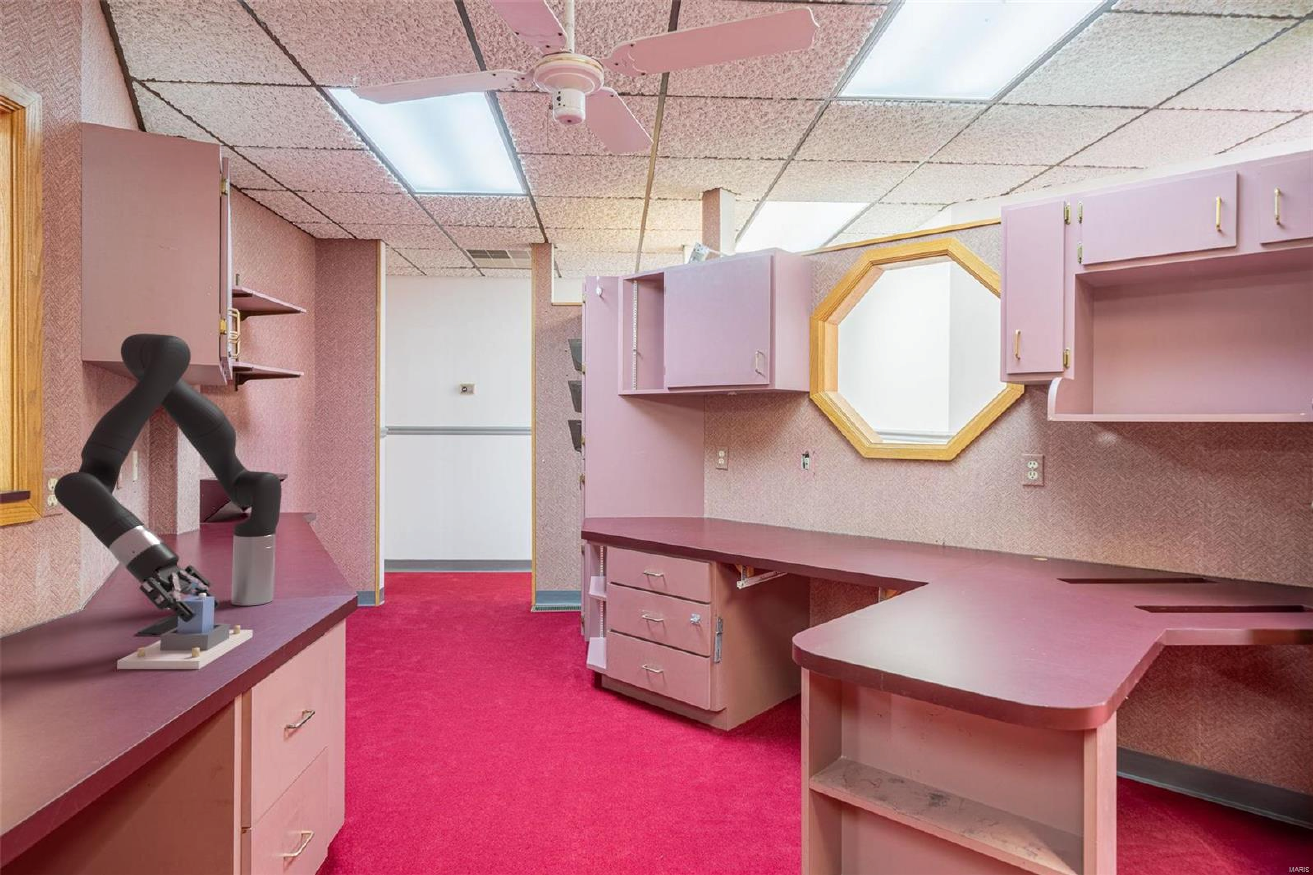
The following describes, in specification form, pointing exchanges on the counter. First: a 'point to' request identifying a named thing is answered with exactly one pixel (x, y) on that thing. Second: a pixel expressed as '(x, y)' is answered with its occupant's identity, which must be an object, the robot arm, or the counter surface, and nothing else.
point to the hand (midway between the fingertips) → (204, 613)
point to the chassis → (186, 649)
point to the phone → (160, 627)
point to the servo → (198, 615)
